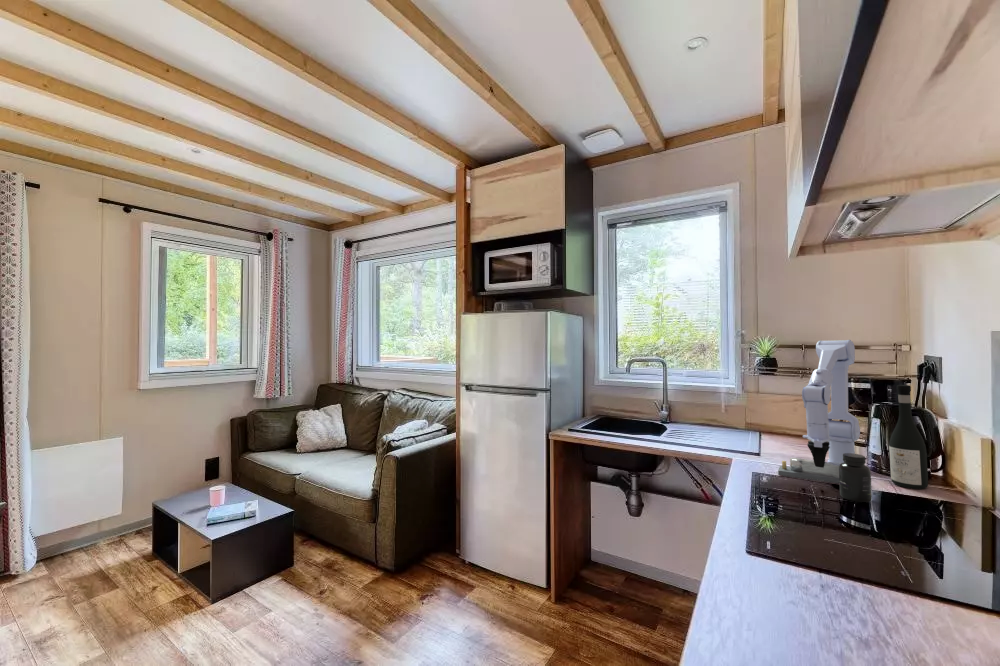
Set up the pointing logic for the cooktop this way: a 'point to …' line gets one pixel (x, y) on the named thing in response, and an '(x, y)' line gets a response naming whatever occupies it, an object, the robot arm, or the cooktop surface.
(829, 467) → the grey long block
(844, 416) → the robot arm
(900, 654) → the cooktop surface
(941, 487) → the cooktop surface
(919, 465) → the wine bottle
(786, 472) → the tool board
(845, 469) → the supplement bottle
